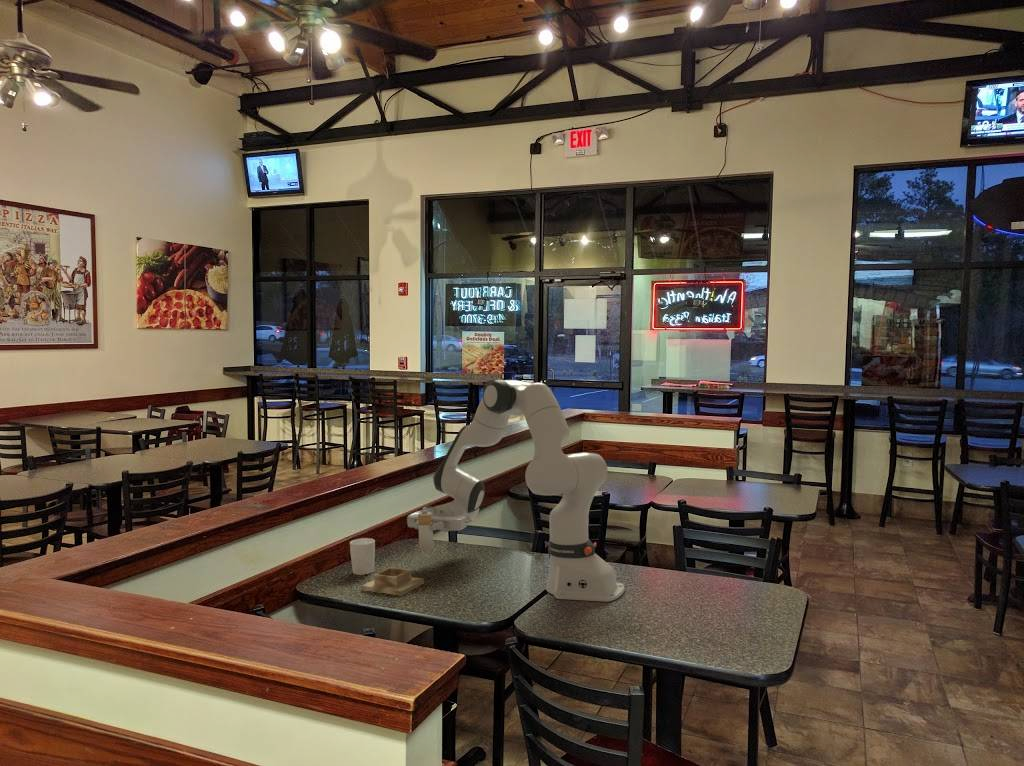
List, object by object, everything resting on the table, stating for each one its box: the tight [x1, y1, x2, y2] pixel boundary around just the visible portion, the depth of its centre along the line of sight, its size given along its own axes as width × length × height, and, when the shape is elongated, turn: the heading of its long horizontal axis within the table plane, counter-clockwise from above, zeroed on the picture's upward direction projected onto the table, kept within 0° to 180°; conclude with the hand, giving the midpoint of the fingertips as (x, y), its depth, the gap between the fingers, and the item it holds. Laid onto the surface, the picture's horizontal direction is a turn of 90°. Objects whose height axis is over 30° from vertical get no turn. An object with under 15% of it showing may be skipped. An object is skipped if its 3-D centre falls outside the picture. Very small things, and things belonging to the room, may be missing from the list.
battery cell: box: [418, 510, 435, 552], centre depth 224 cm, size 4×4×12 cm
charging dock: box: [361, 567, 425, 597], centre depth 212 cm, size 14×12×4 cm
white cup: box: [349, 537, 376, 576], centre depth 228 cm, size 8×8×10 cm
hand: (423, 527), depth 224 cm, fingers closed on battery cell, 4 cm apart
